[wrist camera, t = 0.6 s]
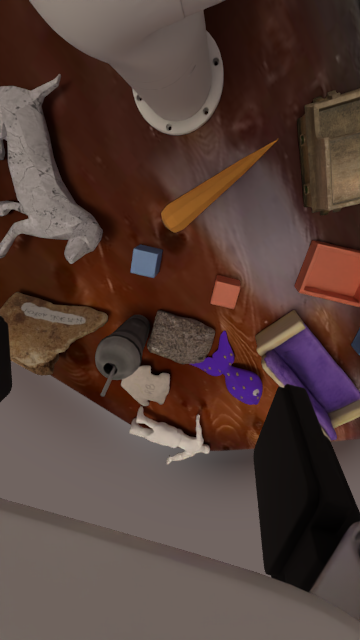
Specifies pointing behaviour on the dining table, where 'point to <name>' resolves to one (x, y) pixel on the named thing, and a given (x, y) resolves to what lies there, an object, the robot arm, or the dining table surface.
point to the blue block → (146, 261)
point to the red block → (225, 291)
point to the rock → (45, 330)
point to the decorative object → (147, 385)
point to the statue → (39, 177)
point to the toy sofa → (308, 371)
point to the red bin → (331, 273)
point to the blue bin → (356, 343)
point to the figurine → (170, 436)
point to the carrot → (206, 193)
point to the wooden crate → (330, 151)
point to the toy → (233, 373)
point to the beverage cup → (122, 350)
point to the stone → (180, 338)
